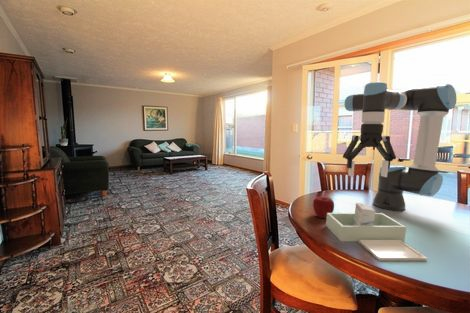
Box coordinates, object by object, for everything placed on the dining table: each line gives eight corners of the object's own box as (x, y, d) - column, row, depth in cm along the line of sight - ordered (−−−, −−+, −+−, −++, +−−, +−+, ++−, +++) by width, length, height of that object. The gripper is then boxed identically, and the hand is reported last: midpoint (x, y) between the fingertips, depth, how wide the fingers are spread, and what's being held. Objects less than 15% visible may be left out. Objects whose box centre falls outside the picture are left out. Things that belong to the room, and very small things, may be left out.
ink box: (352, 228, 100) (354, 202, 99) (365, 229, 99) (367, 203, 98) (359, 237, 92) (361, 209, 90) (373, 238, 91) (375, 210, 89)
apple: (314, 211, 119) (315, 193, 117) (334, 215, 114) (335, 196, 113) (310, 218, 111) (311, 198, 109) (331, 222, 106) (333, 201, 104)
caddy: (380, 225, 103) (382, 213, 102) (404, 241, 89) (406, 226, 88) (326, 225, 102) (326, 212, 102) (341, 241, 88) (342, 226, 88)
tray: (399, 242, 88) (400, 239, 88) (426, 261, 76) (426, 257, 76) (359, 242, 88) (359, 239, 87) (379, 261, 76) (379, 257, 76)
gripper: (396, 123, 93) (391, 174, 96) (336, 123, 93) (332, 174, 96) (410, 123, 86) (404, 178, 89) (345, 122, 86) (341, 178, 88)
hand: (367, 176), depth 92 cm, fingers open, 13 cm apart
